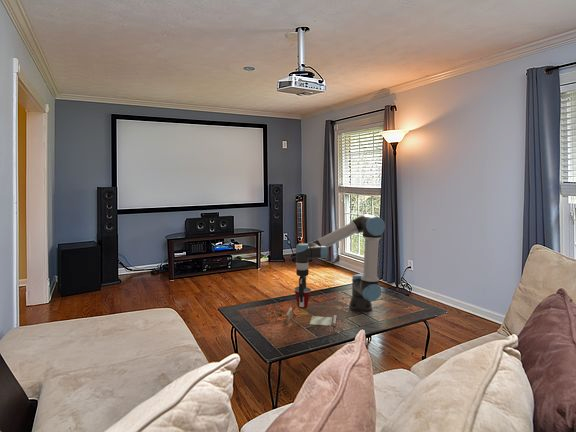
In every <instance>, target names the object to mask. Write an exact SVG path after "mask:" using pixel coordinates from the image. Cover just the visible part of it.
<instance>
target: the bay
mask: <svg viewBox="0 0 576 432" xmlns="http://www.w3.org/2000/svg"><path fill="white" fill-rule="evenodd" d="M292 316H293V307H289V308H288V311H287V312H286V314H285V323H286V324H289V323H290V321H291V319H292ZM336 324H337V314H334V315H333V317H332V316H319V315H318V316H316V315H314V316H313V315H312V316H311V319H310V321H309V325H310V326H311V325H312V326H322V327H323V326H324V327H326V326H327V327H331V326H332V327H336Z"/></svg>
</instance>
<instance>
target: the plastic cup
mask: <svg viewBox="0 0 576 432" xmlns="http://www.w3.org/2000/svg"><path fill="white" fill-rule="evenodd" d="M293 290H294V293H295V300H296V304H297V308H298V309H301V310H302V309H303V310H304V309H307V308H308V304H309V298H310V294H311V292H312V289H311V288H310V287H307V286H306V289H304V292H303V293H304V307H299V297H298V296H299V286H295V287H294V288H293Z"/></svg>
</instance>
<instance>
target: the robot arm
mask: <svg viewBox="0 0 576 432" xmlns="http://www.w3.org/2000/svg"><path fill="white" fill-rule="evenodd" d="M385 228H386V224H385V221H384V219H382V217H379V216H377V215H375V214H374V215H373V214H369V213H368V214H367V213H366V214H363V215H360V216H358V217H356V218H354V219H351V220H350V222H349V223H348V224H346V225H343V226H342V227H340V228H337V229H336V230H333V231H331V232H330V233H328V234H326V235H324V236H322V237H320V238H317V239H316V240H314V241H308V242H307V243H298V244H296V246H295V247H296V248H295V259H296V260H295V262H296V263H294V264H295V266H296V267H295V268H296V270H295V271H296V276H297V277H299V278H298V287H299V296H298V297H299V307H304V293H303V292H304V289H306V287H307V276H309V260H313V259H315V260H317V259H326V258H327V257H328V254H329V253H328V251H329V250H328V248H329V247H331V246H333V245H335V244H337V243H339V242H340V241H342V240H345V239H347V238H349V237H351V236H353V235H357V234H360V233H362V238H364V253H363V254H364V255H363V272H362V273H357V274H354V275H352V278H351V284H352V285H351V289H352V290H351V291H352V292H351V298H350V301H349V306H348V307H349V309H350V310H352V311H355V312H369V311H371V310H373V305H372V302H375V301H377V300H378V299H379V298H380V297H381V295H382V288H381V286H380V279H379V277H378V264H379V263H378V262H379V261H378V260H379V259H378V258H379V247H380V246H379V245H380V244H379V241H380V240H381V238H382V235H383V233H384V232H385Z"/></svg>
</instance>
